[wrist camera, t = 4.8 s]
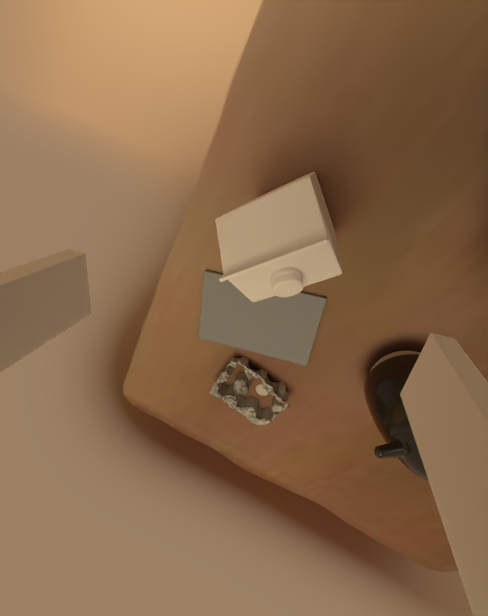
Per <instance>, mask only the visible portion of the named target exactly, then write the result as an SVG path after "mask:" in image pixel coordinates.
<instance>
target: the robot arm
mask: <svg viewBox="0 0 488 616" xmlns="http://www.w3.org/2000/svg"><path fill="white" fill-rule="evenodd" d="M90 307H91V306H90V296H89V286H88V277H87V266H86V255H85V253H81V252H77V251H73V250H69V249H68V250H65V251H63V252H59V253H56V254H53V255H51V256H48V257H45V258H42V259H39V260H36V261H33V262H30V263H27V264H24V265H21V266H18V267H15V268H12V269H9V270H6V271H3V272H0V372H2V371H3V370H5V369H6V368H8V367H9V366H11V365H12V364H14V363H15V362H17V361H19V360H20V359H22V358H23V357H25V356H26V355H28V354H29V353H31V352H32V351H34V350H35V349H37V348H38V347H40V346H42V345H43V344H45V343H46V342H48V341H49V340H51V339H53V338H54V337H56V336H57V335H59V334H60V333H62V332H63V331H65V330H66V329H68V328H70V327H71V326H73V325H74V324H76V323H77V322H79V321H80V320H81V319H83V318H85V317H86V316H88V315H90V314H91V308H90ZM400 396H401V399H402V402H403V405H404V408H405V411H406V414H407V417H408V420H409V423H410V426H411V429H412V432H413V435H414V438H415V441H416V444H417V447H418V450H419V453H420V456H421V459H422V462H423V465H424V468H425V471H426V474H427V477H428V480H429V483H430V486H431V489H432V492H433V495H434V498H435V501H436V504H437V507H438V510H439V513H440V516H441V519H442V522H443V525H444V528H445V531H446V534H447V538H448V541H449V544H450V547H451V550H452V553H453V556H454V559H455V562H456V565H457V568H458V571H459V573H460V577H461V579H462V583H463V586H464V589H465V592H466V595H467V598H468V601H469V604H470V607H471V610H472V613H473V616H488V382H487V381H486V380H485V378H484V377H483V376H482V374H481V373H480V372H479V370H478V369H477V367H476V366H475V365H474V363H473V362H472V361H471V359H470V358H469V357H468V355H467V354H466V353H465V351H464V350H463V349H462V347H461V346H460V345H459V343H458V342H457V341H456V339H455V338H451V337H447V336H442V335H438V334H434V333H430V335H429V337H428V339H427V341H426V343H425V345H424V347H423V349H422V351H421V353H420V355H419V357H418V359H417V361H416V363H415V365H414V367H413V369H412V371H411V373H410V375H409V377H408V379H407V381H406V383H405V385H404V387H403V389H402V391H401V393H400Z"/></svg>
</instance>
